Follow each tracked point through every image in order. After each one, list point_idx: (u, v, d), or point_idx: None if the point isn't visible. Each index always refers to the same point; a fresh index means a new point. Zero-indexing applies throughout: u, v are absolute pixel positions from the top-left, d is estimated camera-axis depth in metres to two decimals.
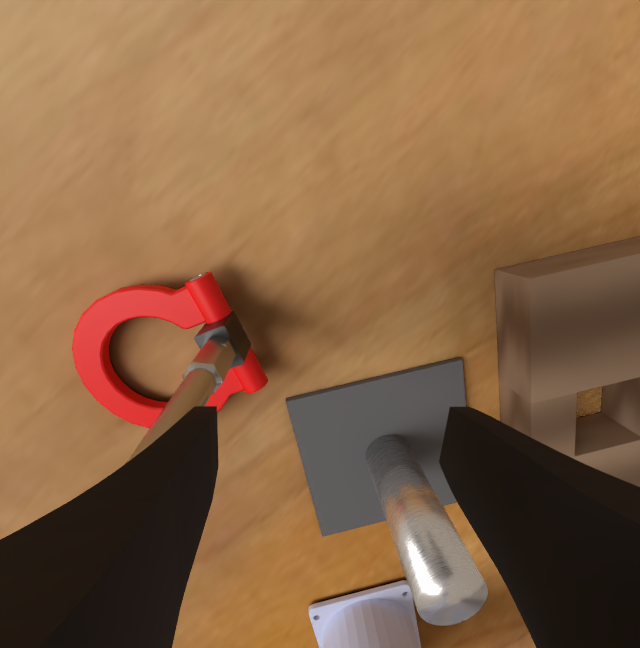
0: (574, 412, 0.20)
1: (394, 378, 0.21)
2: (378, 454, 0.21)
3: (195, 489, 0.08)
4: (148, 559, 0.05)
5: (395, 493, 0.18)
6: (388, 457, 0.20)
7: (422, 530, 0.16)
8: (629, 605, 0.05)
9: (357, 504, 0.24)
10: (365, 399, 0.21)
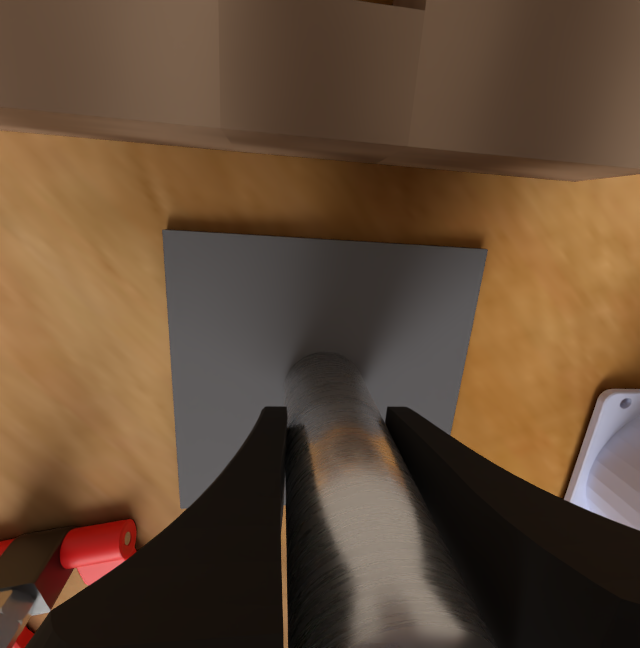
0: None
1: (175, 356, 0.12)
2: None
3: (282, 487, 0.08)
4: None
5: None
6: None
7: None
8: (510, 614, 0.05)
9: None
10: (205, 406, 0.13)
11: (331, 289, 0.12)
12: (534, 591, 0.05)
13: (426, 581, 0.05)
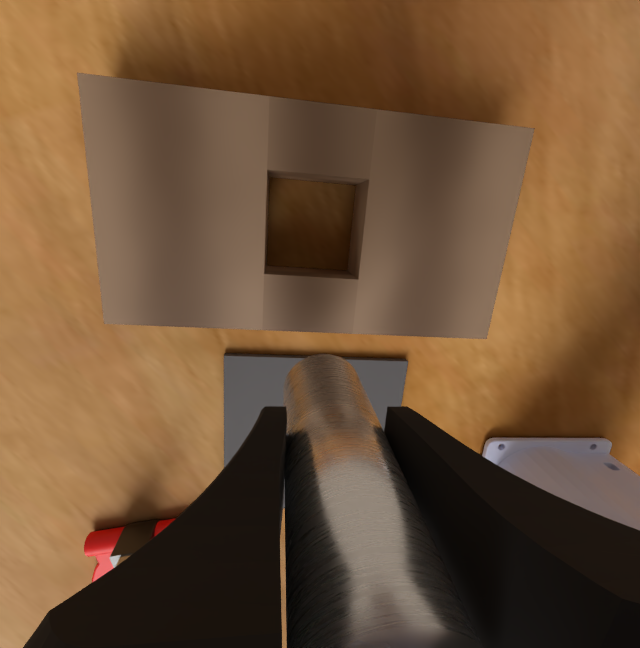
0: (291, 278, 0.16)
1: (227, 421, 0.21)
2: None
3: (281, 487, 0.08)
4: None
5: None
6: None
7: None
8: (510, 614, 0.05)
9: None
10: None
11: None
12: (535, 591, 0.05)
13: (415, 584, 0.05)
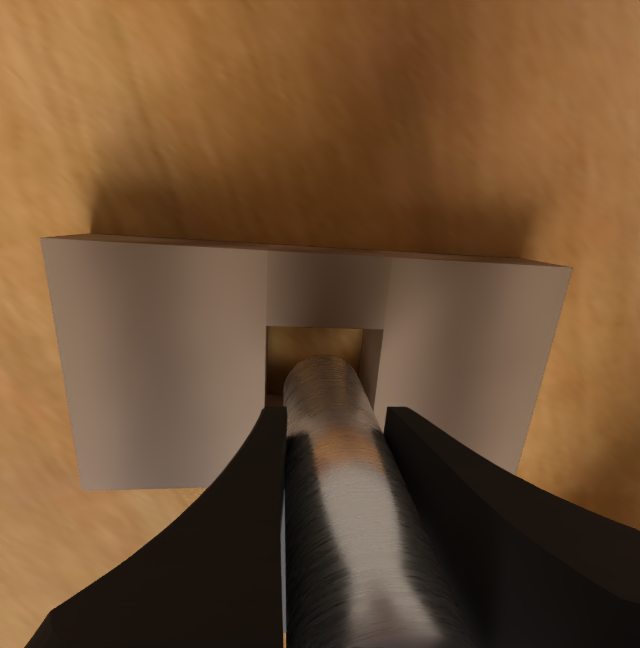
0: None
1: None
2: None
3: (282, 487, 0.08)
4: None
5: None
6: None
7: None
8: (510, 614, 0.05)
9: None
10: None
11: None
12: (534, 591, 0.05)
13: (413, 589, 0.05)
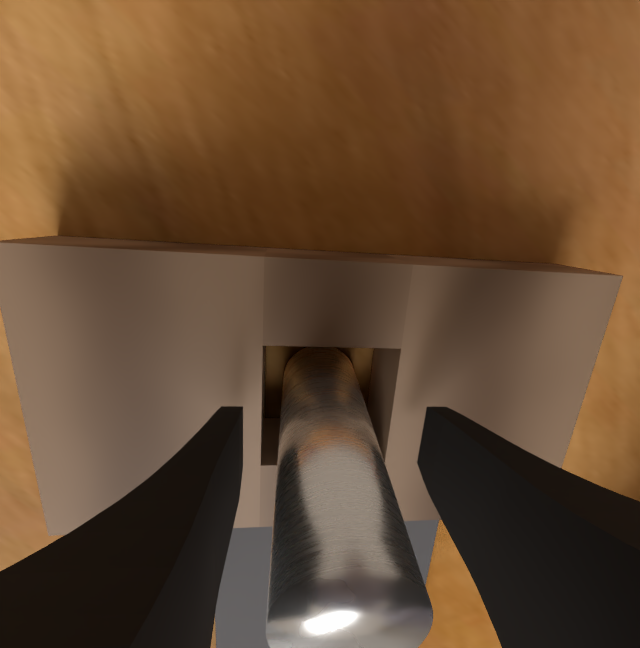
0: None
1: None
2: None
3: (228, 488, 0.08)
4: (198, 557, 0.05)
5: None
6: None
7: None
8: (586, 608, 0.05)
9: None
10: (238, 618, 0.18)
11: None
12: (616, 585, 0.05)
13: (372, 538, 0.06)
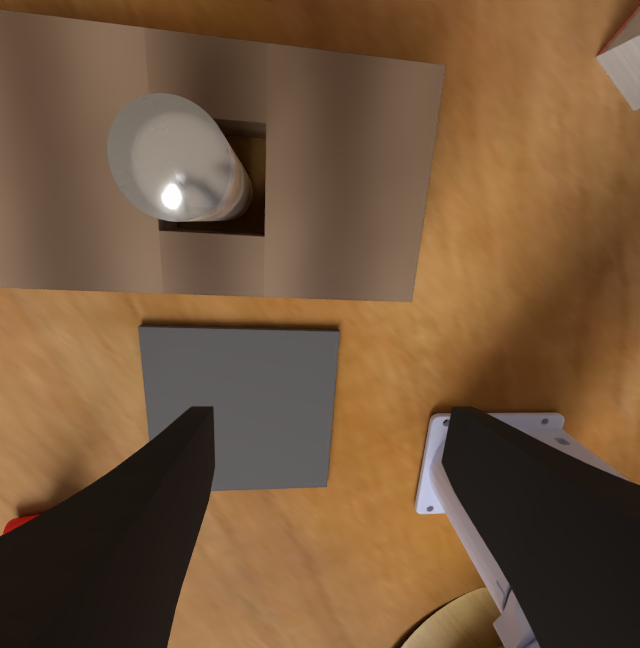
0: (190, 235, 0.15)
1: (148, 398, 0.20)
2: None
3: (191, 489, 0.08)
4: (142, 559, 0.05)
5: None
6: None
7: None
8: (633, 605, 0.05)
9: (297, 451, 0.22)
10: None
11: (243, 357, 0.20)
12: None
13: None
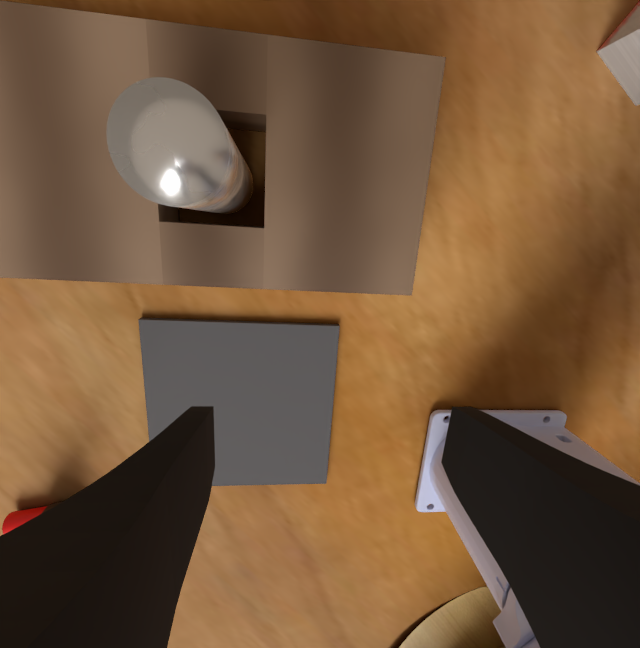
0: (190, 226, 0.15)
1: (148, 391, 0.20)
2: None
3: (191, 489, 0.08)
4: (142, 560, 0.05)
5: None
6: None
7: None
8: (633, 605, 0.05)
9: (297, 447, 0.22)
10: (167, 421, 0.21)
11: (242, 350, 0.20)
12: None
13: None
